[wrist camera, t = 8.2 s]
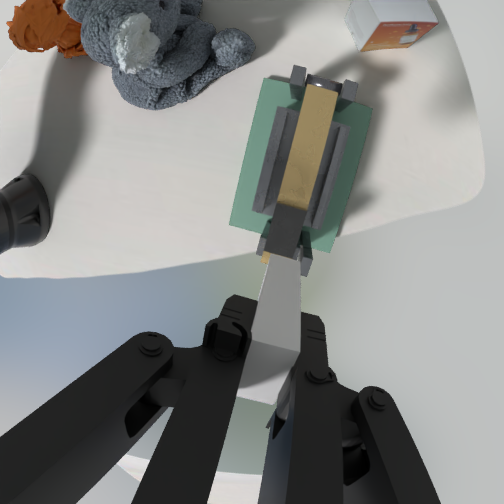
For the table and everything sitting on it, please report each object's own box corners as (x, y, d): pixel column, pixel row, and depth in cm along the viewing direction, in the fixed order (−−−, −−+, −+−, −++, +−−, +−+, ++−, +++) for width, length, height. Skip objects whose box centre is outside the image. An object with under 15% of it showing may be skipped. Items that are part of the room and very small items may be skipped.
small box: (358, 52, 27) (378, 23, 17) (343, 19, 25) (356, -18, 16) (409, 48, 25) (441, 23, 15) (394, 16, 23) (419, -16, 14)
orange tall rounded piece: (115, 1, 27) (47, -32, 10) (109, 51, 31) (27, 28, 14) (70, 24, 29) (1, 6, 12) (63, 71, 33) (-14, 64, 16)
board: (264, 80, 31) (263, 77, 30) (370, 109, 30) (372, 108, 29) (230, 222, 38) (228, 224, 37) (328, 250, 38) (329, 253, 37)
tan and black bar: (307, 75, 23) (308, 70, 21) (340, 85, 23) (343, 81, 21) (260, 257, 30) (257, 263, 28) (290, 266, 30) (290, 272, 28)
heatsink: (287, 84, 30) (284, 61, 21) (348, 102, 30) (368, 85, 20) (251, 228, 38) (236, 257, 29) (308, 244, 38) (311, 278, 28)
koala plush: (266, 54, 29) (235, -23, 11) (167, 140, 36) (68, 146, 18) (190, -9, 26) (126, -74, 8) (107, 70, 32) (13, 52, 14)
